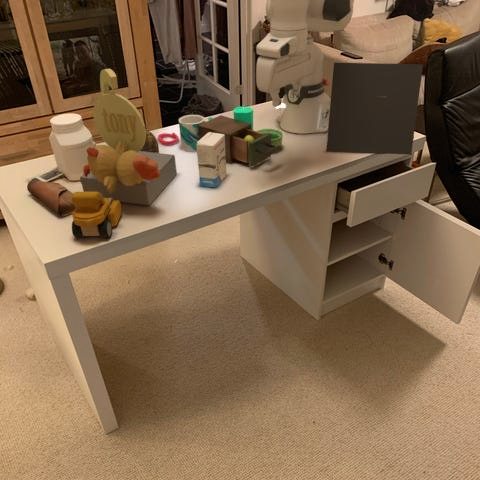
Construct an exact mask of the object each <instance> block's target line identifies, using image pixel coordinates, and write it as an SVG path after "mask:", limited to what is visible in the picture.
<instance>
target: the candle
mask: <svg viewBox="0 0 480 480" xmlns="http://www.w3.org/2000/svg"><path fill="white" fill-rule="evenodd" d="M233 119H236V120H239V121H243V122H246V123H250V124H252V130H254V108H253V109H252V107H250V106H237V107H235V108H233Z"/></svg>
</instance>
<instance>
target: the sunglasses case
mask: <svg viewBox="0 0 480 480" xmlns="http://www.w3.org/2000/svg"><path fill="white" fill-rule="evenodd" d="M26 189H27V191H28V193H29V194H31V195H32V196H34V197H36V198H37V199H38V200H39V201H41V202H42V203H43V204H45V205H46V206H47V207H49V208H50V209H51V210H52V211H54V212H55V213H56V214H57V215H59V216H61V217H63V218H64V217H67V216H70V215H73V212H74V210H75V209H76V208H75V205H74V204H73V202H72V199H71V196H72V195H73V193H74V192H71V191H70V190H69V189H68V188H66V187H65V186H63V185H61V184H60V183H59V182H50V181H48V182H44V181H28V182H27V186H26Z"/></svg>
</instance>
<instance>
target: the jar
mask: <svg viewBox="0 0 480 480" xmlns="http://www.w3.org/2000/svg"><path fill="white" fill-rule="evenodd" d="M49 124H50V126H51V132H50V135H49V137H48V141H49V143H50V146H51V150H52V153H53V157H54V160H55V163H56V167H58V171H59V172H63V173H65V174H63V175H62V176H64V177H66V178H67V179H68V180H69V181H81V180H80V177H81V176H82V175H83V174H84V170H83V168H84V166H85V165H88V160H87V156H88V153H87V149H88V148H89V147H94V144H93V141H94V140H93V134H92V133H91V132H90V130H89V129H88V128H87V127H86V126H85V124H84V122H83V118H82V116H81V115H80V114H79V113H72V112H71V113H62V114H58V115H55V116H53V117H51V118H50V120H49Z"/></svg>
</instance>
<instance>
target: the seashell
mask: <svg viewBox="0 0 480 480" xmlns="http://www.w3.org/2000/svg"><path fill="white" fill-rule="evenodd" d="M159 147H160V146H159V141H158V140H157V137H156V136H155V134H154V133H152V132H151V131H150V130H148V129H146V139H145V144H144V145H143V147H142V149H141V150H140V151H143V152H152V153H160V148H159Z"/></svg>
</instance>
